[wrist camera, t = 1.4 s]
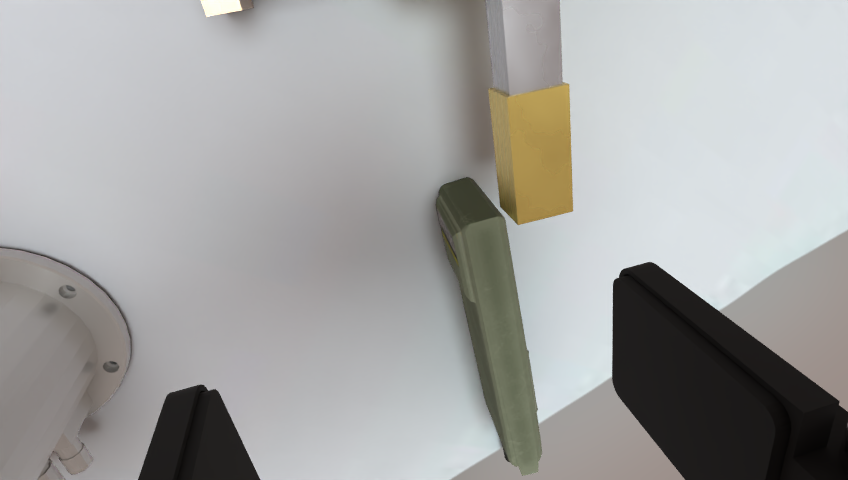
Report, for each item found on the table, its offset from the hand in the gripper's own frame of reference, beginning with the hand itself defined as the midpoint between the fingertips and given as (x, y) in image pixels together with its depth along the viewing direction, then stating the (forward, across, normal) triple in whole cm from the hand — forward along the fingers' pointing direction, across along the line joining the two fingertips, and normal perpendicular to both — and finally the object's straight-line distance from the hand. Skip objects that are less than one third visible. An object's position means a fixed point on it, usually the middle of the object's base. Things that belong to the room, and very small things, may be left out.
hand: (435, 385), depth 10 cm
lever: (+15, -8, -4) cm, 18 cm away
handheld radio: (+22, -6, +17) cm, 29 cm away
